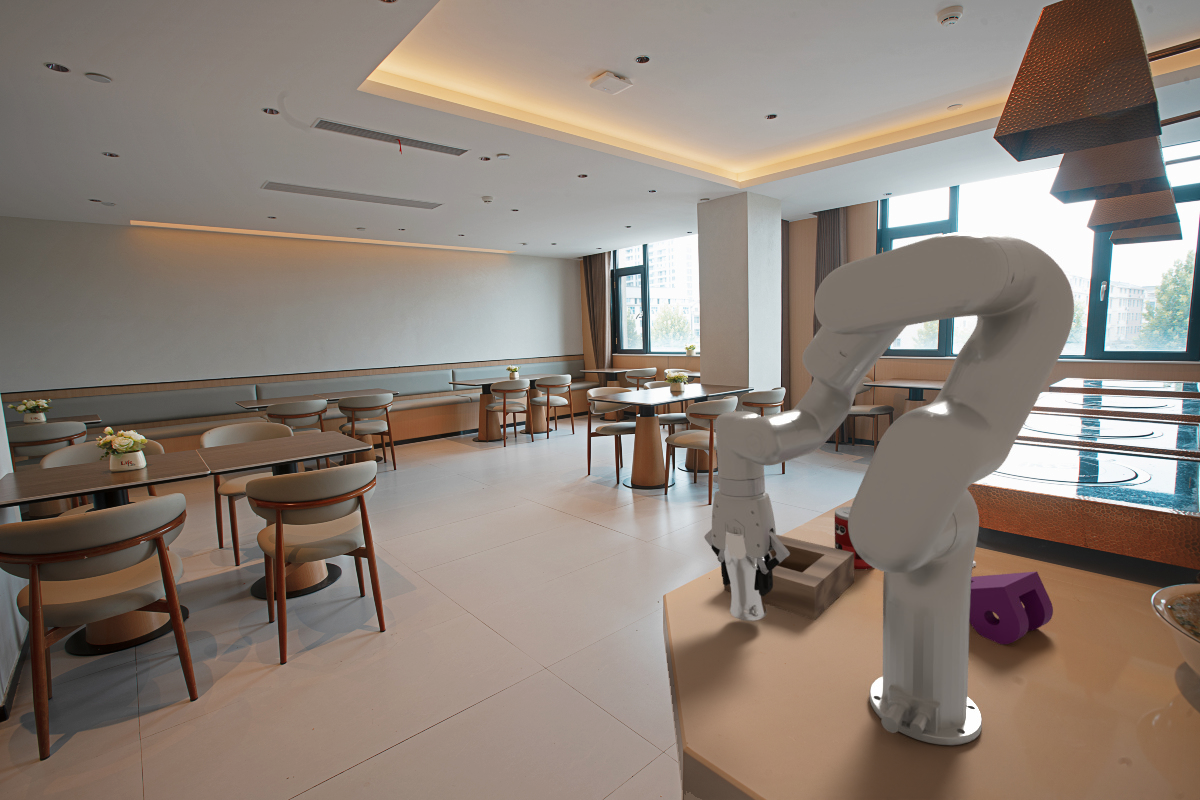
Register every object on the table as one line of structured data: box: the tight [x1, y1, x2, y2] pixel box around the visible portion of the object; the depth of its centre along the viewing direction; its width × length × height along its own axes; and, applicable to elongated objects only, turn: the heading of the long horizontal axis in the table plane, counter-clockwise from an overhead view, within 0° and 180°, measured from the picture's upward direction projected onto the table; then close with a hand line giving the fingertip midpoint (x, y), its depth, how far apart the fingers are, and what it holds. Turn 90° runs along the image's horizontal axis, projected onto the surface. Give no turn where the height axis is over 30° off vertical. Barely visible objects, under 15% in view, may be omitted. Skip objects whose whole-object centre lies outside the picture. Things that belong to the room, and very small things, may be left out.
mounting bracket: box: [969, 570, 1054, 645], centre depth 92 cm, size 10×8×18 cm
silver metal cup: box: [724, 531, 767, 622], centre depth 94 cm, size 7×7×15 cm
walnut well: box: [723, 534, 855, 621], centre depth 107 cm, size 18×18×6 cm
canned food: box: [834, 506, 874, 570], centre depth 116 cm, size 8×8×11 cm
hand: (747, 586), depth 94 cm, fingers closed on silver metal cup, 6 cm apart
